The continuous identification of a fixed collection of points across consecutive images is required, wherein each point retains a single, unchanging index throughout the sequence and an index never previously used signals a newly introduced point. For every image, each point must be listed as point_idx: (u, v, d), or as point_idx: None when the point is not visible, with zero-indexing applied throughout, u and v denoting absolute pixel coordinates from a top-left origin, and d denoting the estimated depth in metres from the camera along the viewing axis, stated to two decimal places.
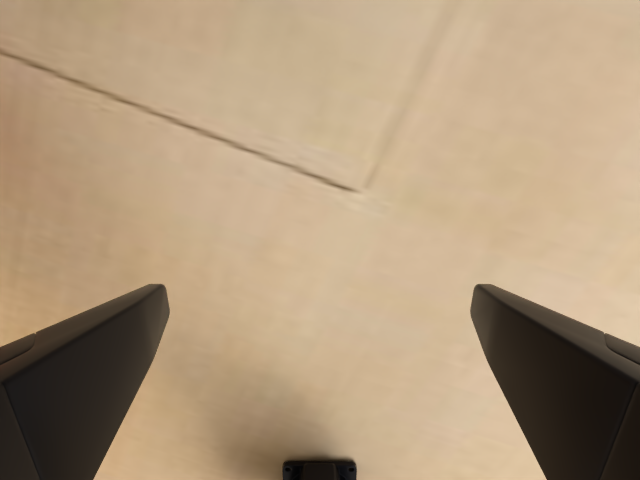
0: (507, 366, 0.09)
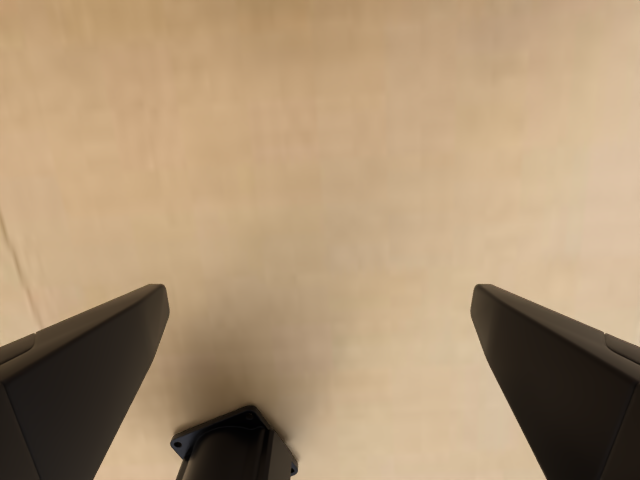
0: (507, 366, 0.09)
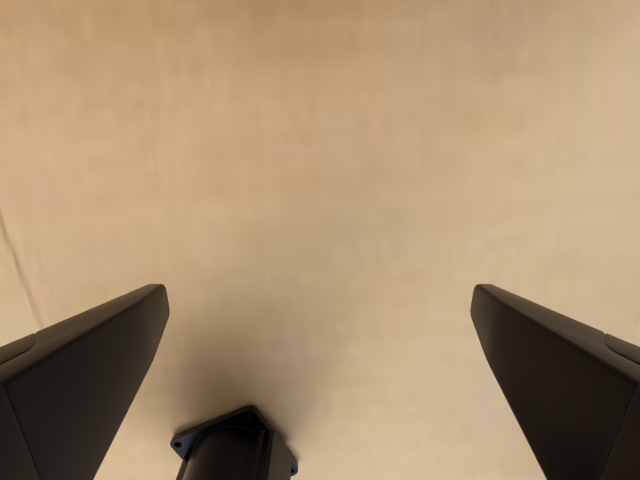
0: (507, 366, 0.09)
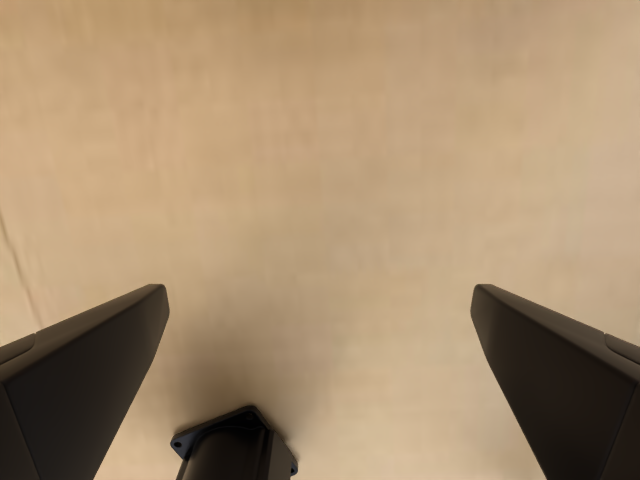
0: (507, 366, 0.09)
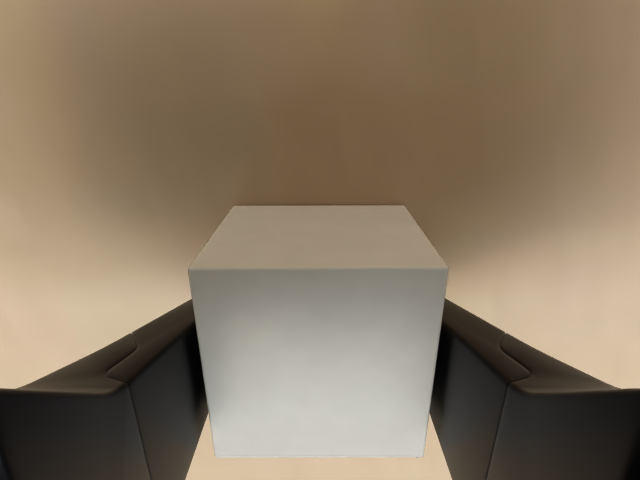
0: None
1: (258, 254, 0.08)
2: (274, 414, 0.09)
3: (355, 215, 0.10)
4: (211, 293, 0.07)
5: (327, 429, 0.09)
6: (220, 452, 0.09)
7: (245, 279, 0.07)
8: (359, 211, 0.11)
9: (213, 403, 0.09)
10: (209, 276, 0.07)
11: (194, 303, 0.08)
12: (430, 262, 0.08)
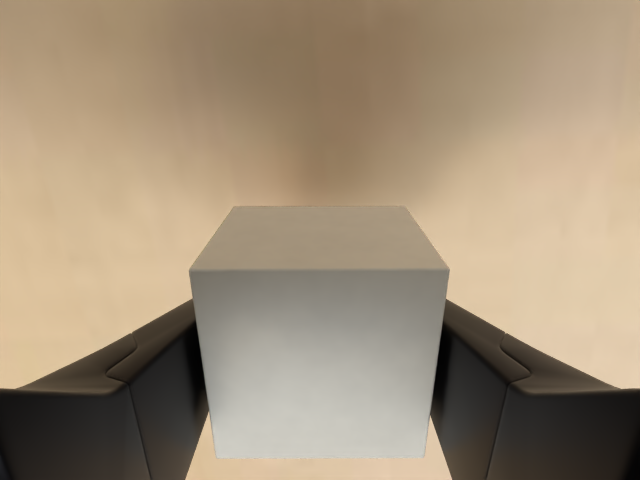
0: None
1: (259, 255, 0.08)
2: (275, 415, 0.09)
3: (356, 216, 0.10)
4: (212, 294, 0.07)
5: (328, 430, 0.09)
6: (221, 453, 0.09)
7: (246, 280, 0.07)
8: (360, 212, 0.11)
9: (214, 404, 0.09)
10: (210, 277, 0.07)
11: (195, 304, 0.08)
12: (431, 263, 0.08)
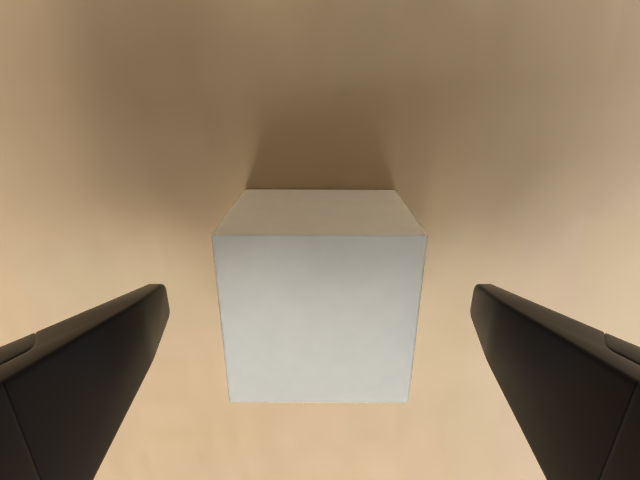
0: (507, 366, 0.09)
1: (269, 225, 0.09)
2: (281, 363, 0.10)
3: (351, 197, 0.12)
4: (230, 255, 0.09)
5: (326, 377, 0.10)
6: (234, 397, 0.11)
7: (259, 243, 0.09)
8: (355, 194, 0.12)
9: (229, 352, 0.10)
10: (229, 241, 0.09)
11: (215, 265, 0.09)
12: (412, 231, 0.09)
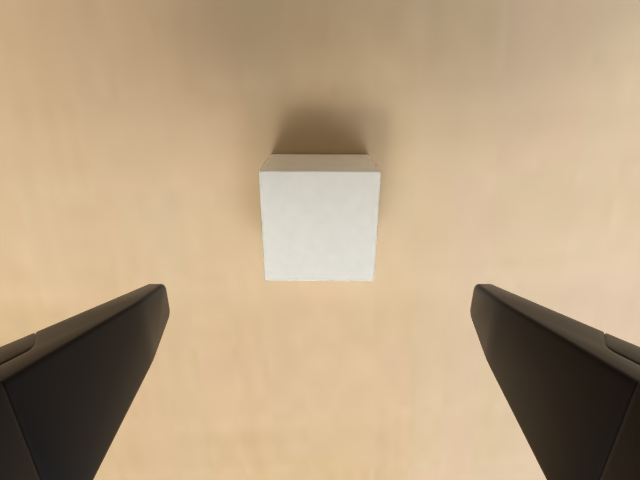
0: (507, 366, 0.09)
1: (290, 167, 0.16)
2: (296, 253, 0.17)
3: (340, 157, 0.19)
4: (269, 183, 0.16)
5: (324, 262, 0.17)
6: (267, 276, 0.17)
7: (285, 176, 0.16)
8: (342, 156, 0.19)
9: (266, 246, 0.17)
10: (268, 174, 0.16)
11: None
12: (373, 170, 0.16)
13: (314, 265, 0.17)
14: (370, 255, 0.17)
